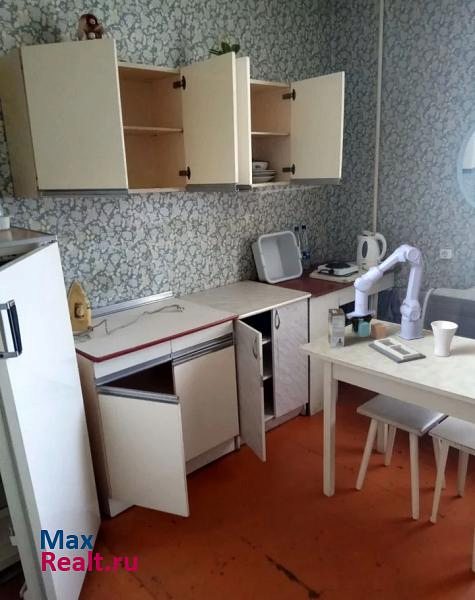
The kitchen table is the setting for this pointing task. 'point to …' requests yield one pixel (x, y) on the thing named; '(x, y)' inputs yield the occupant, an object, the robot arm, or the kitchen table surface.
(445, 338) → the cup
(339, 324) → the coffee box
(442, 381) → the kitchen table surface
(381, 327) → the terracotta block
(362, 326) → the teal bar
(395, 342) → the shape board
